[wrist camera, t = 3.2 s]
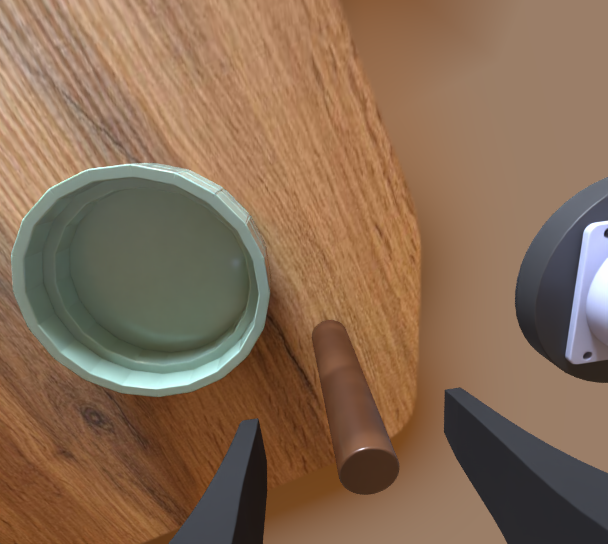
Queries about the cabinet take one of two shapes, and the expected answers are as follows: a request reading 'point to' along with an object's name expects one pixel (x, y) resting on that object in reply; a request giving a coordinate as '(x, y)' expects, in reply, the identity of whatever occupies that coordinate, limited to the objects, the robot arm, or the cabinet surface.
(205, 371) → the celadon bowl
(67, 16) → the cabinet surface
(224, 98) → the cabinet surface
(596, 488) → the robot arm
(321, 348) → the stirring stick
